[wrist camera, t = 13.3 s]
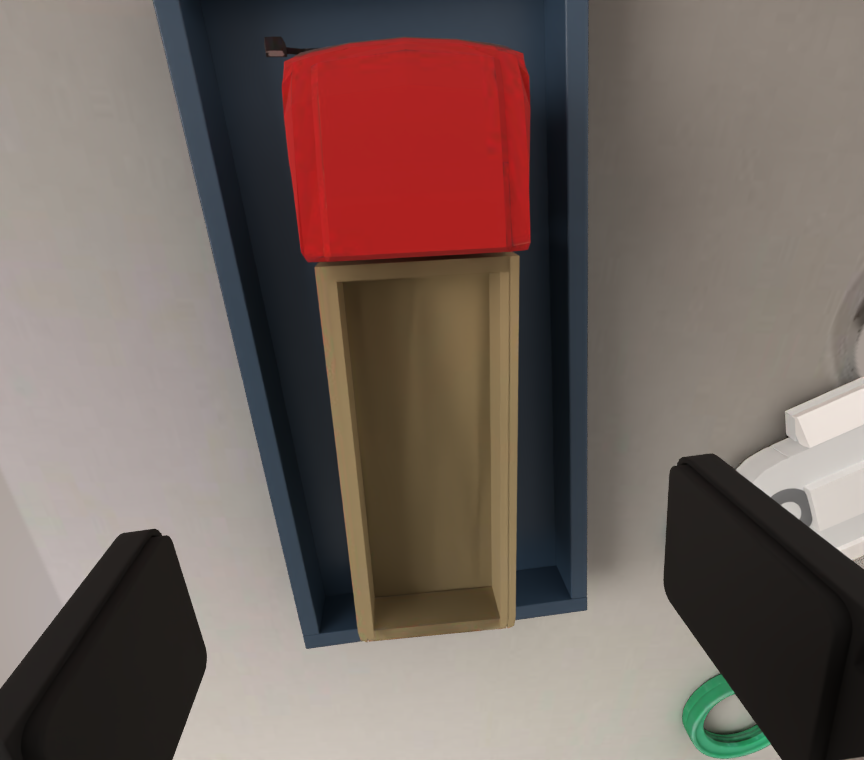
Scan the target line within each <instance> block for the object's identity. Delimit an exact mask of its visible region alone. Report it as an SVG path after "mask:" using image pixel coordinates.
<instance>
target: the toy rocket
mask: <svg viewBox="0 0 864 760" xmlns="http://www.w3.org/2000/svg"><path fill="white" fill-rule="evenodd" d="M785 422H786V435H788V436H789V438H787V439H784V440H782V441H780V442H777V443H775V444H773V445H771V446H770V447H767V448H764V449H762V450H761V451H759V452H757V453H756V454H754V455H752V456H751V457H749V458H747V459H746V460H745V461H744V462H743V463H742V464H741V465H740V466H739V467H738V468H737V469H736V471H737V472H739V473H740V474H741V475H743V476H744V477H745V478H746V479H748V480H749V481H750V482H752V483H753V484H754V485H755V486H757V487H758V488H759V489H761V490H762V491H763V492H764V493H766V494H767V495H768V496H770V497H771V498H772V499H773V500H775V501H776V502H777V503H779V504H780V505H781V506H782V507H784V508H785V509H786V510H788V511H789V512H790V513H791V514H793V515H794V516H795V517H797V518H798V519H799V520H801V521H802V522H803V523H804V524H806V525H807V526H808V527H810V528H811V529H812V530H813V531H815V532H816V533H817V534H819V535H820V536H821V537H822V538H824V539H825V540H826V541H828V542H829V543H830V544H831V545H833V546H834V547H835V548H837V549H838V550H839V551H840V552H842V553H843V554H844V555H846V556H847V557H848V558H850V559H851V560H854V559H856V558H859V557H861V556H864V376H863V377H861V378H859V379H856V380H854V381H852V382H850V383H847V384H845V385H843V386H841V387H838V388H836V389H834V390H832V391H829V392H827V393H825V394H823V395H820V396H818V397H816V398H814V399H811V400H809V401H807V402H805V403H802V404H800V405H798V406H796V407H793V408H791V409H789V410H787V411H785Z"/></svg>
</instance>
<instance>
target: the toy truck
mask: <svg viewBox="0 0 864 760" xmlns="http://www.w3.org/2000/svg"><path fill="white" fill-rule="evenodd" d="M264 46H265V53H266V57H287V54H294V55H296V56H294V57H293V58H291V59H289V60H286V61H284V73H283V81H282V96H283V110H284V121H285V130H286V139H287V148H288V157H289V165H290V170H291V176H292V184H293V192H294V200H295V208H296V216H297V224H298V232H299V240H300V248H301V253H302V254H303V256H304V258H305V259H306V261H307V262H319V263H318V264H317V265H316V266H315V267H314V268H315V276H316V284H317V293H318V301H319V309H320V318H321V326H322V335H323V343H324V351H325V360H326V368H327V376H328V385H329V393H330V402H331V410H332V418H333V427H334V435H335V444H336V452H337V460H338V469H339V477H340V485H341V494H342V502H343V511H344V519H345V527H346V536H347V544H348V552H349V561H350V569H351V578H352V586H353V594H354V603H355V611H356V619H357V628H358V634H359V637H360V640H361V641H365V642H367V641H368V640H369V641H379V640H390V639H400V638H410V637H420V636H431V635H441V634H451V633H461V632H472V631H482V630H492V629H503V628H506V626H507V628H510V627H512V626H514V623H515V618H516V534H517V441H518V347H519V255H517V254H516V253H514V252H513V251H522V250H528V248H529V246H530V243H531V241H530V205H529V161H530V84H529V74H528V71H527V68H526V66H525V61H524V54H523V53H521V52H518V51H515V50H513V49H511V48H509V47H507V46H504V45H499V44H493V43H487V42H479V41H471V40H463V39H450V38H423V37H397V38H387V39H377V40H367V41H358V42H349V43H344V44H339V45H333V46H328V47H323V48H303V49H299V48H290V47H286V44H285V42H284V40H283V39H282V37H274V36H272V37H264Z"/></svg>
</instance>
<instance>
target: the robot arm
mask: <svg viewBox="0 0 864 760" xmlns="http://www.w3.org/2000/svg"><path fill="white" fill-rule="evenodd" d="M664 588H665V592H666V595H667V597H668V599H669V601H670V603H671V604H672V606H673V607H674V608H675V610H676V611H677V613H678V614H679V615H680V617H681V618H682V620H683V621H684V622H685V624H686V625H687V627H688V628H689V629H690V631H691V632H692V634H693V635H694V637H695V638H696V639H697V641H698V642H699V644H700V645H701V646H702V648H703V649H704V651H705V652H706V653H707V655H708V656H709V658H710V659H711V660H712V662H713V663H714V665H715V666H716V668H717V669H718V670H719V672H720V673H721V675H722V676H723V677H724V679H725V680H726V682H727V683H728V684H729V686H730V687H731V689H732V690H733V691H734V693H735V694H736V696H737V697H738V698H739V700H740V701H741V703H742V704H743V706H744V707H745V708H746V710H747V711H748V713H749V714H750V715H751V717H752V718H753V720H754V721H755V722H756V724H757V725H758V727H759V728H760V729H761V731H762V732H763V734H764V735H765V736H766V738H767V739H768V741H769V742H770V744H771V745H772V746H773V748H774V749H775V751H776V752H777V753H778V755H779V756H780V758H781V759H782V760H864V569H862V568H861V567H860V566H859V565H857V564H856V563H855V562H853V561H852V560H851V559H850V558H848V557H847V556H846V555H844V554H843V553H842V552H840V551H839V550H838V549H837V548H835V547H834V546H833V545H831V544H830V543H829V542H828V541H826V540H825V539H824V538H822V537H821V536H820V535H819V534H817V533H816V532H815V531H813V530H812V529H811V528H810V527H808V526H807V525H806V524H804V523H803V522H802V521H801V520H799V519H798V518H797V517H795V516H794V515H793V514H791V513H790V512H789V511H788V510H786V509H785V508H784V507H782V506H781V505H780V504H779V503H777V502H776V501H775V500H773V499H772V498H771V497H770V496H768V495H767V494H766V493H764V492H763V491H762V490H761V489H759V488H758V487H757V486H755V485H754V484H753V483H752V482H750V481H749V480H748V479H746V478H745V477H744V476H743V475H741V474H740V473H739V472H737V471H736V470H735V469H733V468H732V467H731V466H730V465H728V464H727V463H726V462H724V461H723V460H722V459H721V458H719V457H718V456H716V455H715V454H703V455H696V456H689V457H682V458H681V459H679V461H678V463H677V466H673V467H672V468H671V470H670V474H669V492H668V509H667V527H666V545H665V563H664ZM206 663H207V653H206V647H205V644H204V641H203V638H202V635H201V631H200V628H199V625H198V622H197V619H196V615H195V612H194V609H193V606H192V603H191V599H190V596H189V593H188V590H187V587H186V583H185V580H184V577H183V574H182V571H181V567H180V564H179V561H178V558H177V555H176V551H175V548H174V545H173V542H172V540H171V538H170V537H169V536H167V535H166V536H162V534H161V533H160V532H159V531H158V530H156V529H150V530H142V531H135V532H128V533H123V534H120V535H119V536H118V537H117V538H116V539H115V541H114V542H113V543H112V545H111V546H110V547H109V548H108V550H107V551H106V552H105V554H104V555H103V556H102V558H101V559H100V560H99V561H98V563H97V564H96V565H95V567H94V568H93V569H92V571H91V572H90V573H89V574H88V576H87V577H86V578H85V580H84V581H83V582H82V583H81V585H80V586H79V587H78V589H77V590H76V591H75V593H74V594H73V595H72V596H71V598H70V599H69V600H68V602H67V603H66V604H65V606H64V607H63V608H62V609H61V611H60V612H59V613H58V615H57V616H56V617H55V619H54V620H53V621H52V623H51V624H50V625H49V627H48V628H47V629H46V630H45V632H44V633H43V634H42V636H41V637H40V638H39V639H38V641H37V642H36V643H35V645H34V646H33V647H32V649H31V650H30V651H29V652H28V654H27V655H26V656H25V658H24V659H23V660H22V661H21V663H20V664H19V665H18V667H17V668H16V669H15V670H14V672H13V673H12V675H11V676H10V677H9V678H8V680H7V681H6V682H5V683H4V685H3V686H2V687H1V689H0V760H172V759H173V756H174V754H175V751H176V748H177V746H178V743H179V740H180V737H181V735H182V732H183V729H184V727H185V724H186V721H187V718H188V716H189V713H190V710H191V708H192V705H193V702H194V700H195V697H196V694H197V691H198V689H199V686H200V683H201V681H202V678H203V675H204V672H205V669H206Z"/></svg>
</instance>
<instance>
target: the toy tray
mask: <svg viewBox="0 0 864 760" xmlns="http://www.w3.org/2000/svg"><path fill="white" fill-rule="evenodd" d="M153 4H154V8H155V12H156V16H157V20H158V25H159V29H160V33H161V37H162V42H163V46H164V50H165V54H166V58H167V63H168V67H169V71H170V75H171V80H172V84H173V88H174V92H175V97H176V101H177V105H178V109H179V113H180V118H181V122H182V126H183V130H184V135H185V139H186V143H187V147H188V151H189V156H190V160H191V164H192V168H193V173H194V177H195V181H196V185H197V190H198V194H199V198H200V202H201V206H202V211H203V215H204V219H205V223H206V228H207V232H208V236H209V240H210V244H211V249H212V253H213V257H214V261H215V266H216V270H217V274H218V278H219V283H220V287H221V291H222V295H223V299H224V304H225V308H226V312H227V316H228V321H229V325H230V329H231V333H232V337H233V342H234V346H235V350H236V354H237V359H238V363H239V367H240V371H241V376H242V380H243V384H244V388H245V392H246V397H247V401H248V405H249V409H250V414H251V418H252V422H253V426H254V431H255V435H256V439H257V443H258V447H259V452H260V456H261V460H262V464H263V469H264V473H265V477H266V481H267V485H268V490H269V494H270V498H271V502H272V507H273V511H274V515H275V519H276V524H277V528H278V532H279V536H280V540H281V545H282V549H283V553H284V557H285V562H286V566H287V570H288V574H289V578H290V583H291V587H292V591H293V595H294V600H295V604H296V608H297V612H298V617H299V621H300V625H301V629H302V633H303V638H304V642H305V646H306V649H309V648H316V647H323V646H331V645H338V644H345V643H352V642H360V641H361V640H360V637H359V634H358V628H357V619H356V611H355V603H354V594H353V586H352V578H351V569H350V561H349V552H348V544H347V536H346V527H345V519H344V511H343V502H342V494H341V485H340V477H339V469H338V460H337V452H336V444H335V435H334V427H333V418H332V410H331V402H330V393H329V385H328V376H327V368H326V360H325V351H324V343H323V335H322V326H321V318H320V309H319V301H318V293H317V284H316V276H315V268H314V267H315V266H316V265H317V264H318V263H319V262H307V261H306V259H305V258H304V256H303V254H302V253H301V248H300V240H299V232H298V224H297V216H296V208H295V200H294V192H293V184H292V176H291V170H290V165H289V157H288V148H287V139H286V130H285V121H284V110H283V96H282V81H283V73H284V61H286V60H289V59H291V58H293V57H294V56H296V55H294V54H287V57H266V53H265V46H264V37H272V36H274V37H282V39H283V40H284V42H285V44H286V47H290V48H299V49H303V48H323V47H328V46H333V45H339V44H344V43H349V42H358V41H367V40H377V39H387V38H397V37H423V38H450V39H463V40H471V41H479V42H487V43H493V44H499V45H504V46H507V47H509V48H511V49H513V50H515V51H518V52H521V53H523V54H524V61H525V66H526V68H527V71H528V74H529V84H530V161H529V205H530V241H531V243H530V246H529V248H528V250H522V251H513V252H514V253H516V254H517V255H519V347H518V441H517V534H516V618H515V620H519V619H527V618H534V617H541V616H549V615H556V614H563V613H570V612H578V611H585V610H587V358H588V0H153Z"/></svg>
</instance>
